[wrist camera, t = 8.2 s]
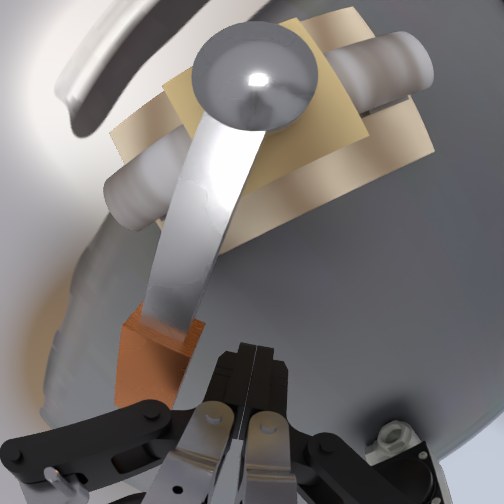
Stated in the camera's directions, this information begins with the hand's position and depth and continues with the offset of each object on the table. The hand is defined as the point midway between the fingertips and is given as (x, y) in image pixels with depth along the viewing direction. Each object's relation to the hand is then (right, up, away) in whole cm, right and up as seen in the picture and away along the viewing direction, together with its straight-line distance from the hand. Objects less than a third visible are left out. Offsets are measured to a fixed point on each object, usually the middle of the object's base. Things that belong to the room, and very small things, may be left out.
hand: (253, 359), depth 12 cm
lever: (-2, +5, -3) cm, 6 cm away
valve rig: (+1, +13, +6) cm, 14 cm away
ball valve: (+19, -19, +15) cm, 31 cm away
